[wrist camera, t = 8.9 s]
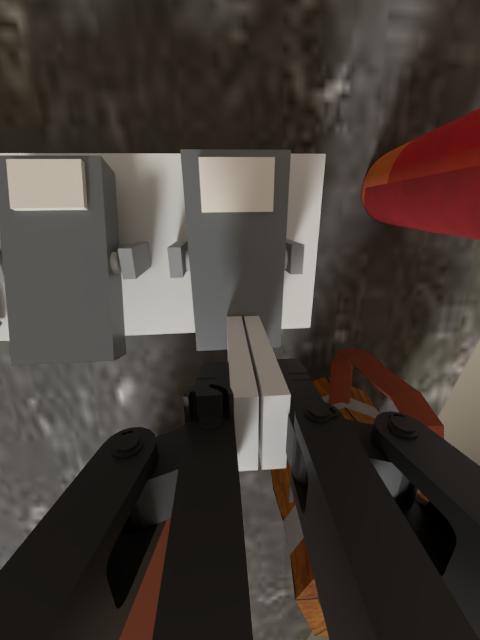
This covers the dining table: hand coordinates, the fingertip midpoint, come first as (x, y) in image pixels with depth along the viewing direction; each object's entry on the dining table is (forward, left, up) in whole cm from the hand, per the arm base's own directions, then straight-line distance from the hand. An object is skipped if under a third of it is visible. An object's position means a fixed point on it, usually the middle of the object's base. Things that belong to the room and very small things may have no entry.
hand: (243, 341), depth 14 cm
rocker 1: (-8, +4, -1) cm, 9 cm away
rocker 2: (0, +4, -1) cm, 4 cm away
